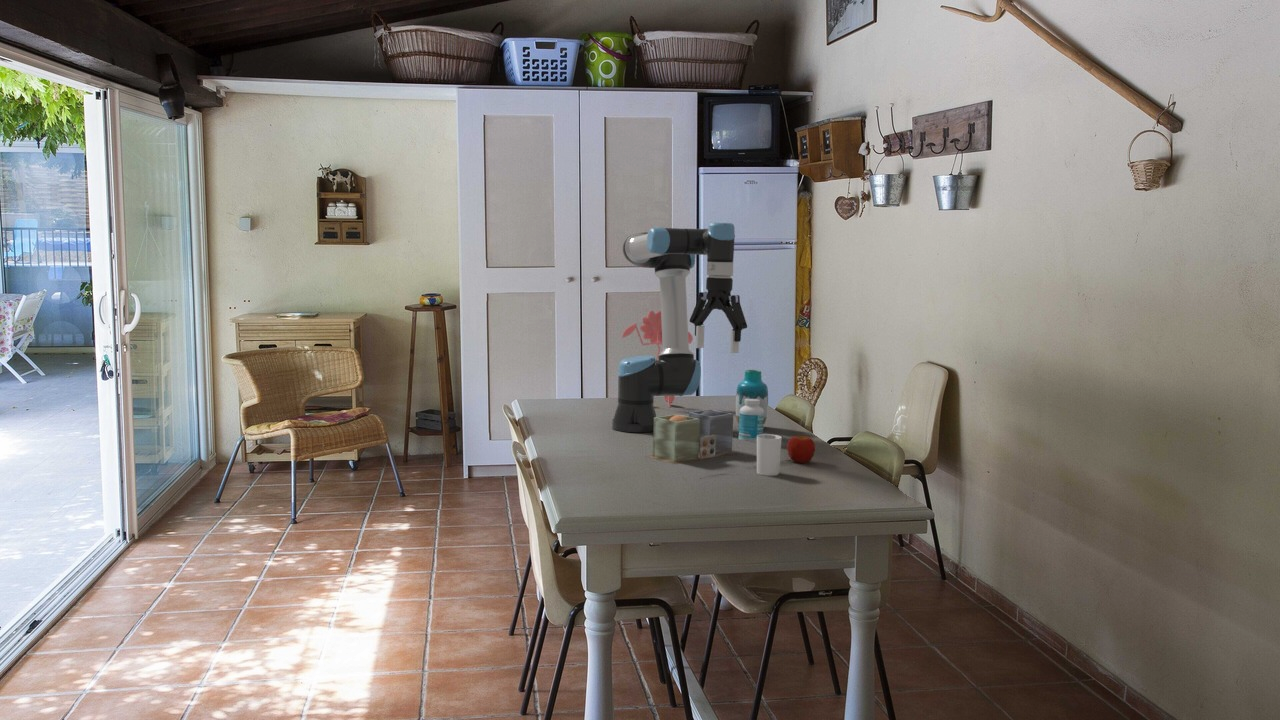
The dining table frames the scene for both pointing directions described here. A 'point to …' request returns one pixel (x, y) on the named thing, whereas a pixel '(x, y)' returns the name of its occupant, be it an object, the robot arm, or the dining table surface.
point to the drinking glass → (768, 454)
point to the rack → (692, 437)
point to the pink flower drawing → (652, 335)
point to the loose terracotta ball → (678, 418)
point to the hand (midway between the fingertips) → (716, 350)
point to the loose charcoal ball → (709, 413)
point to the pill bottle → (751, 420)
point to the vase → (752, 392)
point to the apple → (801, 449)
